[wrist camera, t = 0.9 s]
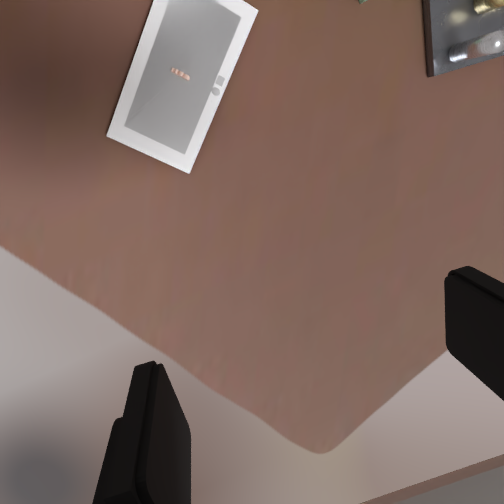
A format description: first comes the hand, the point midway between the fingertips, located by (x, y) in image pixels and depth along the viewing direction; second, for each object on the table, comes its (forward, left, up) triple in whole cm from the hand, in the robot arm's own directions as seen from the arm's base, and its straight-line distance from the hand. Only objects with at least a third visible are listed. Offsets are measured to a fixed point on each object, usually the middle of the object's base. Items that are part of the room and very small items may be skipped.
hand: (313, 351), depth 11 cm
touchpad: (-12, -1, -27) cm, 29 cm away
